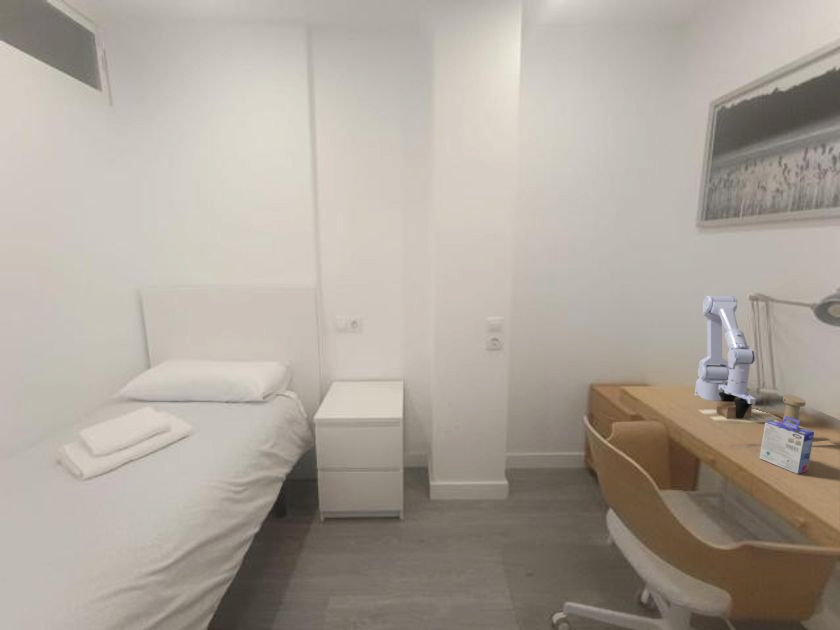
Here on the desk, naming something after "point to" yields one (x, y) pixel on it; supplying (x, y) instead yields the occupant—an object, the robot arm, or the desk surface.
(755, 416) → the sanding board
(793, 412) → the handle
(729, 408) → the sanding block
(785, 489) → the desk surface
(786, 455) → the ink cartridge box
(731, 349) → the robot arm
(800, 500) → the desk surface
